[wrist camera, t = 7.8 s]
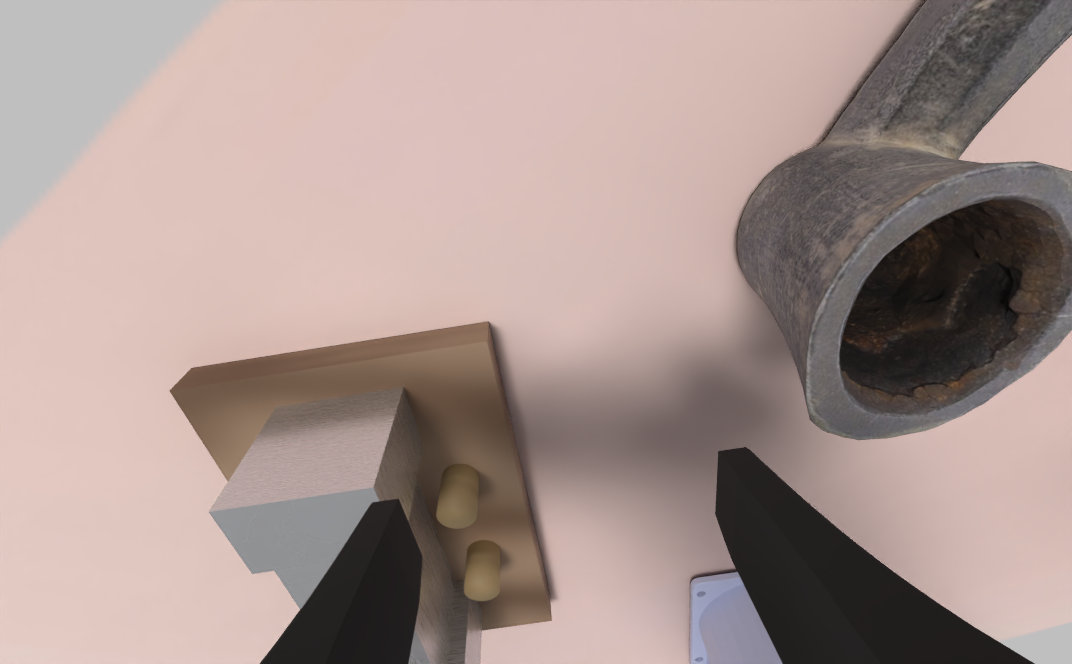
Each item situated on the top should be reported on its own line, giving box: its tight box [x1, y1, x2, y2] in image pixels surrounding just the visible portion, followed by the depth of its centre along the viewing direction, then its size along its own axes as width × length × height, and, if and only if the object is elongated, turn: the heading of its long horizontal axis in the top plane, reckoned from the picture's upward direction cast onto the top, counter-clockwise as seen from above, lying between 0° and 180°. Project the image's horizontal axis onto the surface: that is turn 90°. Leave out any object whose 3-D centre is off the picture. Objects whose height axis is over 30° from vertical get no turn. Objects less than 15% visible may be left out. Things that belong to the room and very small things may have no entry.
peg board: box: [170, 322, 552, 630], centre depth 23 cm, size 18×12×4 cm, turn 8°
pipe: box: [737, 0, 1072, 440], centre depth 14 cm, size 6×13×8 cm, turn 155°
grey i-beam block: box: [209, 387, 482, 664], centre depth 21 cm, size 15×5×5 cm, turn 8°
